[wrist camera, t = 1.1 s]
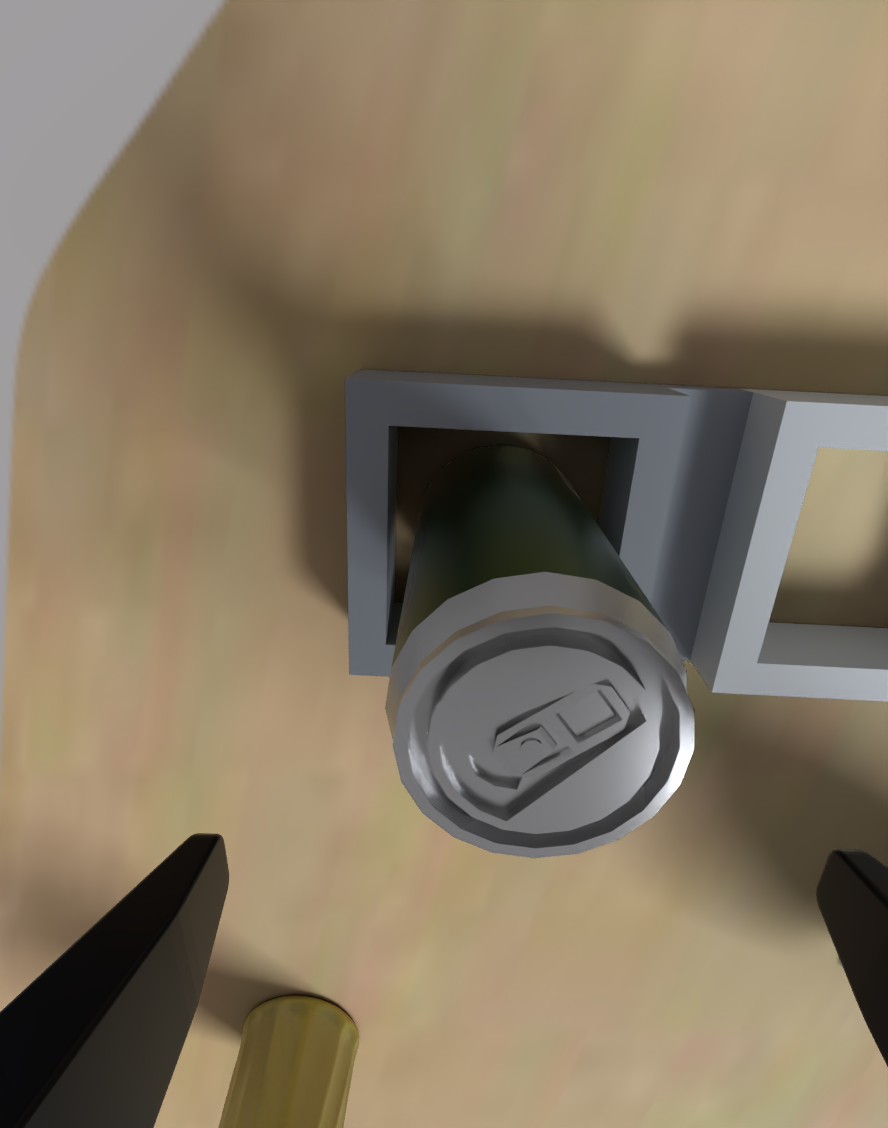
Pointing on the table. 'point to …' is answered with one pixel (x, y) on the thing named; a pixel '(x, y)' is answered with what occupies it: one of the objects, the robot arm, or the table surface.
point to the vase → (292, 1066)
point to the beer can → (530, 668)
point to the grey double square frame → (642, 510)
